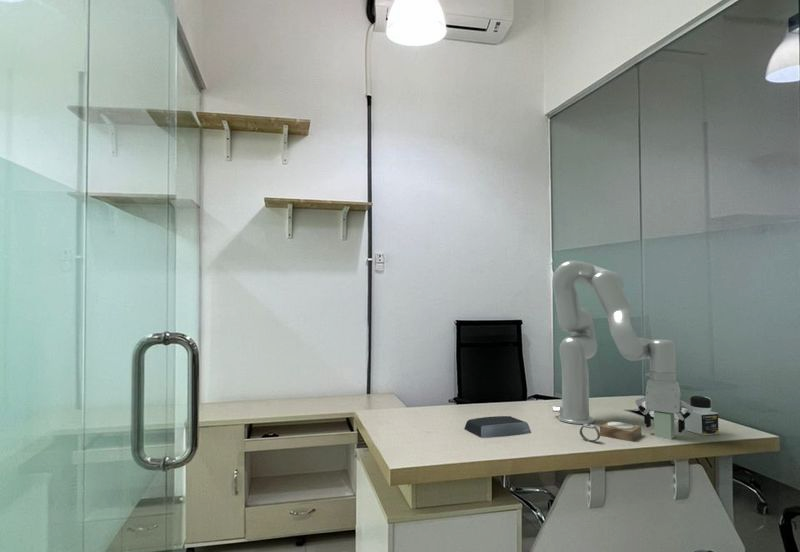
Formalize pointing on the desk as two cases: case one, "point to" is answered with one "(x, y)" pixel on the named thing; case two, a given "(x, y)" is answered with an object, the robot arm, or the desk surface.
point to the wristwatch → (591, 428)
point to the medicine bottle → (702, 417)
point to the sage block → (664, 425)
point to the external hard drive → (497, 426)
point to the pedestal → (620, 430)
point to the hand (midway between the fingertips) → (664, 429)
